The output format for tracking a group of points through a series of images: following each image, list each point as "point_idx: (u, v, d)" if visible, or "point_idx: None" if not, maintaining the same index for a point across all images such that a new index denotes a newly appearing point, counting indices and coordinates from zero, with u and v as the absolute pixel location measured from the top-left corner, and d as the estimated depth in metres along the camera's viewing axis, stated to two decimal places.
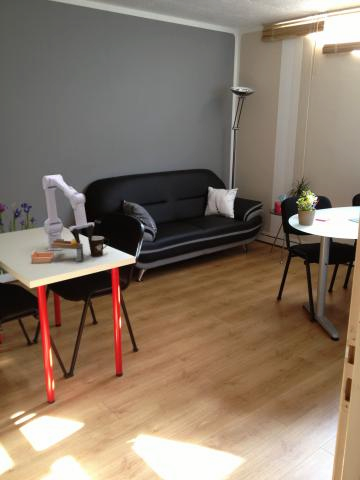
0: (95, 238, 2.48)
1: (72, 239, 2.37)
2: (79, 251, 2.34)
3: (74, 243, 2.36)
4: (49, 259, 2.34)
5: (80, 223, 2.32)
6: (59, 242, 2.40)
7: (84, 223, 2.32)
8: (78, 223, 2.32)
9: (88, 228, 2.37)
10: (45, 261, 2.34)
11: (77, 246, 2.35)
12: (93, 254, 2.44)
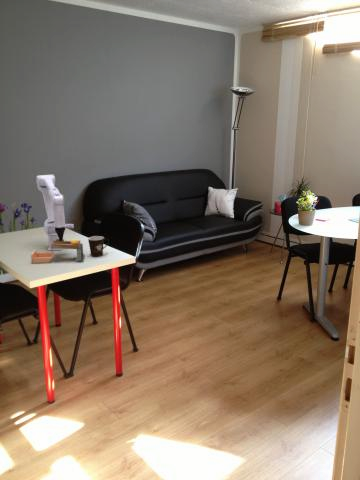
0: (95, 238, 2.48)
1: (72, 239, 2.37)
2: (79, 251, 2.34)
3: (74, 243, 2.36)
4: (49, 259, 2.34)
5: (55, 224, 2.40)
6: (59, 242, 2.40)
7: (59, 224, 2.40)
8: (54, 223, 2.41)
9: None
10: (45, 261, 2.34)
11: (77, 246, 2.35)
12: (93, 254, 2.44)
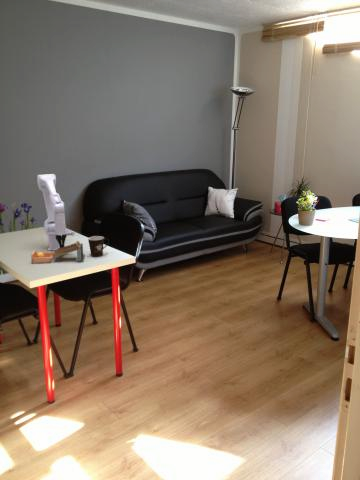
0: (95, 238, 2.48)
1: (43, 255, 2.37)
2: (79, 251, 2.34)
3: (39, 257, 2.36)
4: (49, 259, 2.34)
5: (56, 231, 2.41)
6: (60, 250, 2.41)
7: (60, 232, 2.41)
8: (55, 231, 2.42)
9: None
10: (45, 261, 2.34)
11: (76, 247, 2.35)
12: (93, 254, 2.44)
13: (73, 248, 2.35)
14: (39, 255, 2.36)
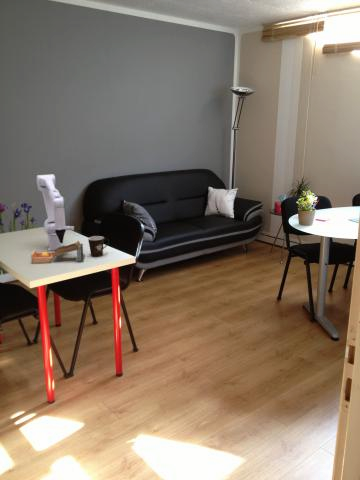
0: (95, 238, 2.48)
1: None
2: (79, 251, 2.34)
3: (43, 256, 2.36)
4: (49, 259, 2.34)
5: (56, 226, 2.41)
6: (60, 249, 2.41)
7: (59, 227, 2.40)
8: (55, 225, 2.41)
9: None
10: (45, 261, 2.34)
11: (76, 247, 2.35)
12: (93, 254, 2.44)
13: (73, 248, 2.35)
14: (45, 256, 2.36)
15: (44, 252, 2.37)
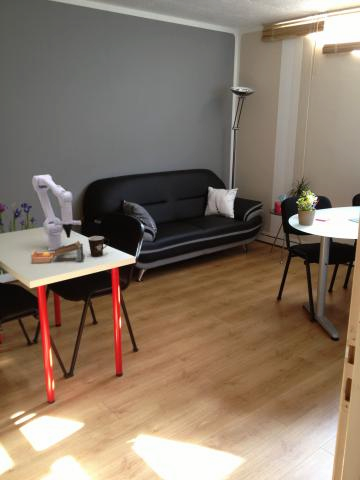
0: (95, 238, 2.48)
1: None
2: (79, 251, 2.34)
3: (45, 256, 2.36)
4: (49, 259, 2.34)
5: (63, 220, 2.42)
6: (60, 249, 2.41)
7: (66, 221, 2.41)
8: (62, 220, 2.42)
9: (68, 226, 2.45)
10: (45, 261, 2.34)
11: (76, 247, 2.35)
12: (93, 254, 2.44)
13: (73, 248, 2.35)
14: (47, 256, 2.36)
15: (47, 252, 2.37)
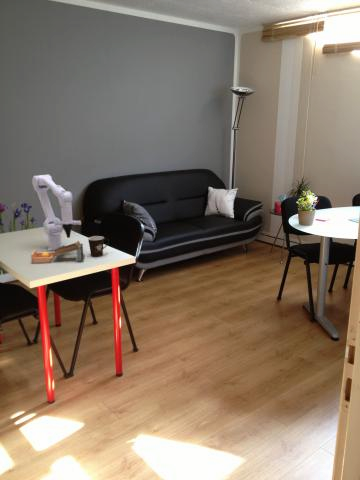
0: (95, 238, 2.48)
1: None
2: (79, 251, 2.34)
3: (44, 256, 2.36)
4: (49, 259, 2.34)
5: (63, 220, 2.42)
6: (60, 249, 2.41)
7: (66, 221, 2.41)
8: (62, 220, 2.42)
9: (68, 226, 2.45)
10: (45, 261, 2.34)
11: (76, 247, 2.35)
12: (93, 254, 2.44)
13: (73, 248, 2.35)
14: (46, 256, 2.36)
15: (45, 252, 2.37)
